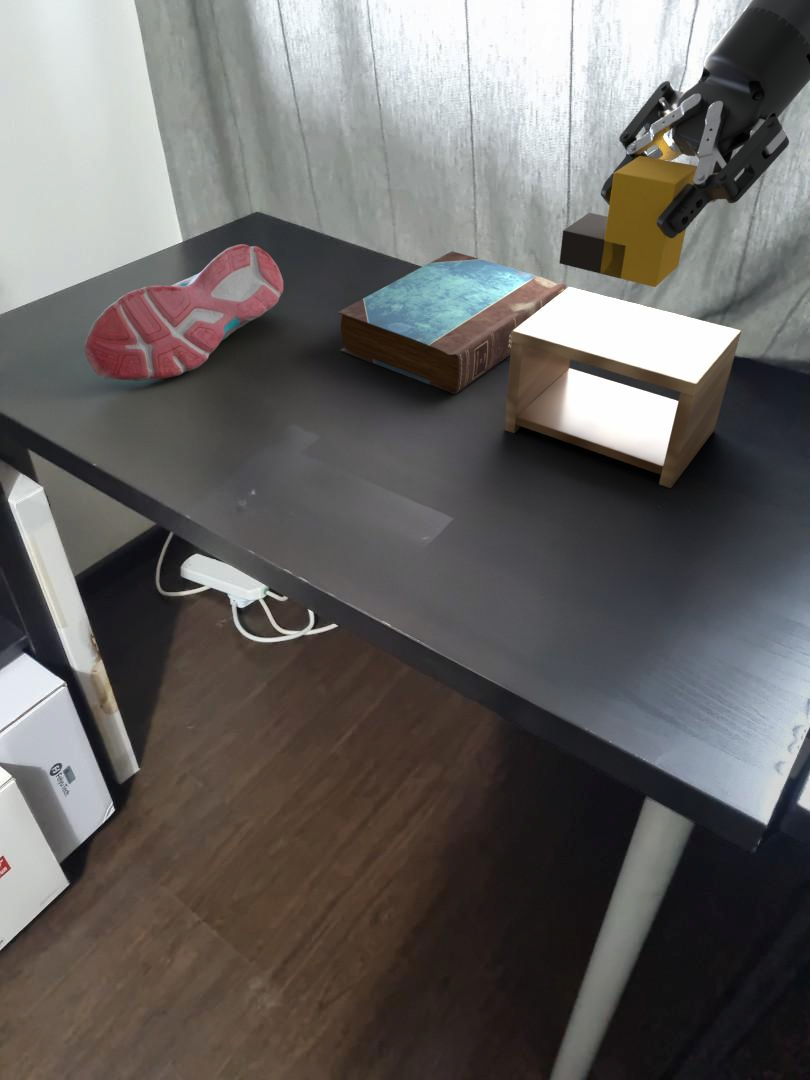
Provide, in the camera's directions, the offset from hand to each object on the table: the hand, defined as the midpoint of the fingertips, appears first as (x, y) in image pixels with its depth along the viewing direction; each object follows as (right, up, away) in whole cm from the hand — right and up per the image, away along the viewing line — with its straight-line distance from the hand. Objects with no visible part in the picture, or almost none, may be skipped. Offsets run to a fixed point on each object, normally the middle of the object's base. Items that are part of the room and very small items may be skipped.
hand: (634, 215), depth 69 cm
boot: (0, -3, +5) cm, 5 cm away
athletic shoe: (-45, -4, +32) cm, 55 cm away
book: (-13, -2, +33) cm, 36 cm away
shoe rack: (+2, -16, +17) cm, 23 cm away
